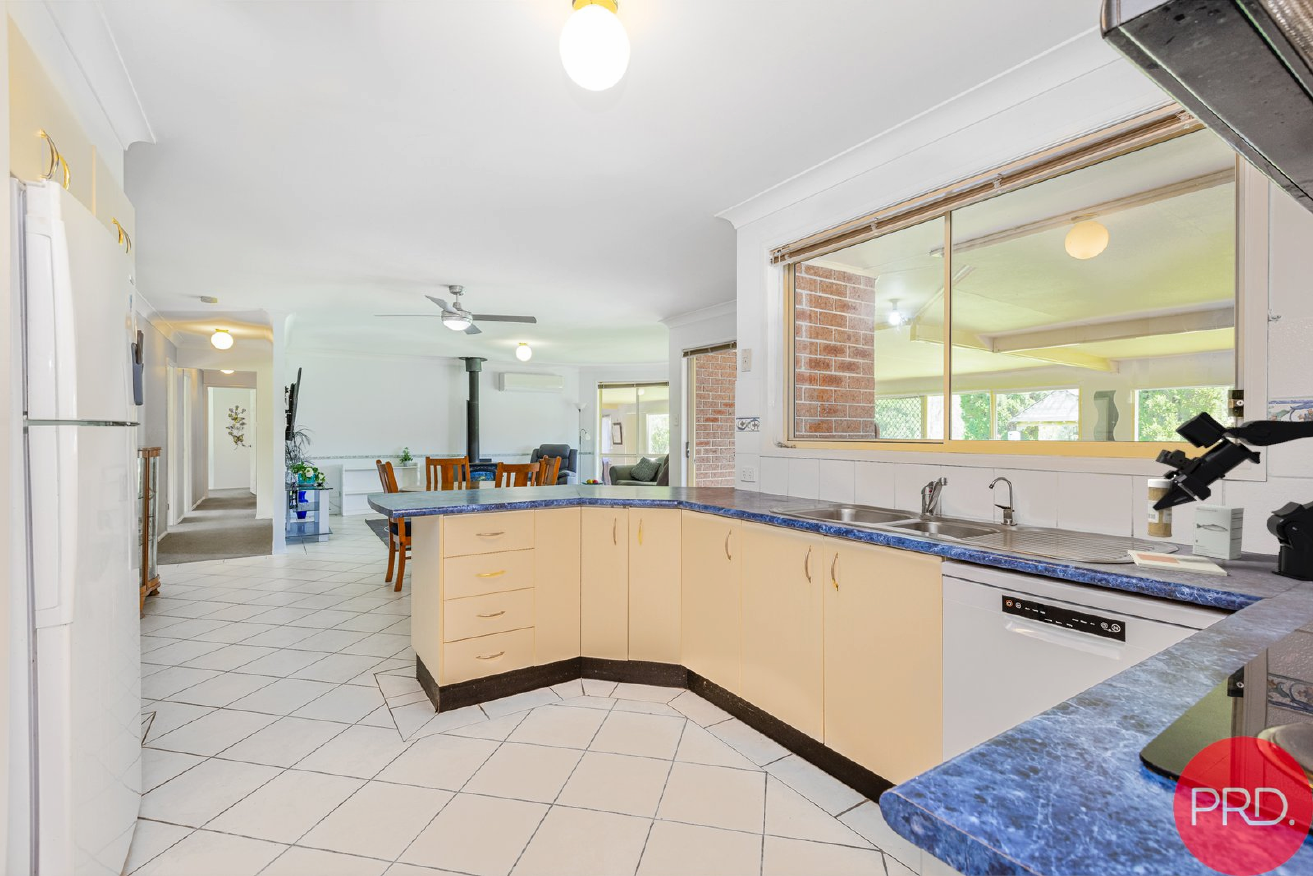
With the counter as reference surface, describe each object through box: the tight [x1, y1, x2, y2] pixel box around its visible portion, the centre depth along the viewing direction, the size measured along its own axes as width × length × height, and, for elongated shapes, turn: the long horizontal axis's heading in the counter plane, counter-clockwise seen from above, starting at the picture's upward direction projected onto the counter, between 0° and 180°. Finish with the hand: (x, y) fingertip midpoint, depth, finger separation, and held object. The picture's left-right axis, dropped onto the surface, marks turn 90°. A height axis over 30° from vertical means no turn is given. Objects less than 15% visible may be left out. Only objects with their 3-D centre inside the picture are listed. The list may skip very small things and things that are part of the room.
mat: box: [1127, 549, 1228, 577], centre depth 141 cm, size 15×18×1 cm
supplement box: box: [1192, 503, 1245, 561], centre depth 150 cm, size 7×7×13 cm
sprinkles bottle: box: [1147, 478, 1173, 539], centre depth 142 cm, size 5×5×14 cm
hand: (1152, 508), depth 142 cm, fingers closed on sprinkles bottle, 4 cm apart
